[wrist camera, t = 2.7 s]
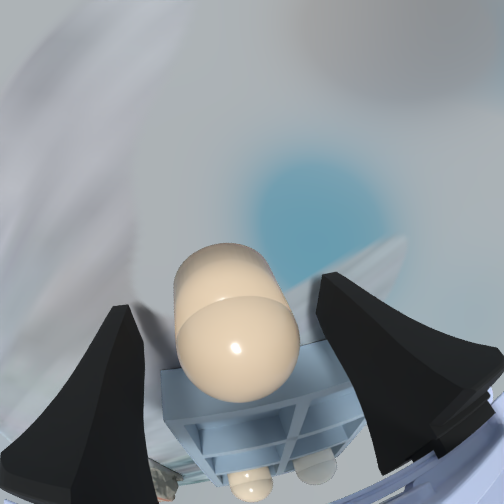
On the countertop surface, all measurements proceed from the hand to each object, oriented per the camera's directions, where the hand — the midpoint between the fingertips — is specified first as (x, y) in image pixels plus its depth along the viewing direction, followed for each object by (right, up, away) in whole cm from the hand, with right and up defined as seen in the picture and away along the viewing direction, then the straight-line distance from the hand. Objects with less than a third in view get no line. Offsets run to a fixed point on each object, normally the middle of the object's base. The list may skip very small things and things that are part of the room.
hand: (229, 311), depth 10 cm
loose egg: (0, +1, +1) cm, 2 cm away
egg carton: (+3, -12, +10) cm, 15 cm away
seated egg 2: (+6, -17, +13) cm, 22 cm away
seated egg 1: (0, -18, +12) cm, 21 cm away
